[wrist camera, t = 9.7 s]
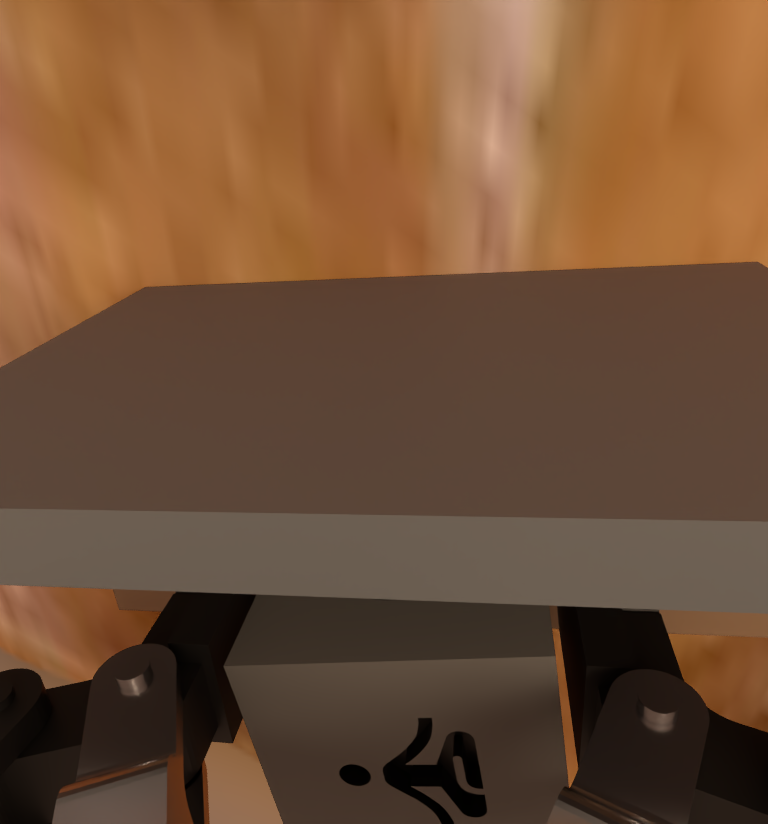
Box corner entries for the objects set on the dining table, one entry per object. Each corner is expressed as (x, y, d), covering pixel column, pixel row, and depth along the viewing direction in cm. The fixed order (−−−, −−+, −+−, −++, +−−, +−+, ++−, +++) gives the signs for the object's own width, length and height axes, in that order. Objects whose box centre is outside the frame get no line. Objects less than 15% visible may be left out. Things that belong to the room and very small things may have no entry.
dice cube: (551, 652, 16) (578, 875, 11) (349, 659, 17) (299, 865, 12) (532, 472, 14) (555, 656, 9) (303, 491, 15) (223, 665, 10)
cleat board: (758, 262, 16) (1198, 528, 6) (716, 510, 19) (964, 956, 9) (145, 287, 18) (-245, 504, 9) (195, 503, 21) (-50, 845, 12)
